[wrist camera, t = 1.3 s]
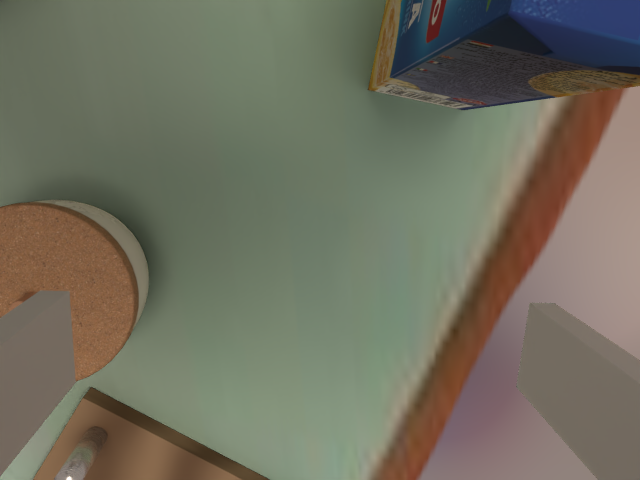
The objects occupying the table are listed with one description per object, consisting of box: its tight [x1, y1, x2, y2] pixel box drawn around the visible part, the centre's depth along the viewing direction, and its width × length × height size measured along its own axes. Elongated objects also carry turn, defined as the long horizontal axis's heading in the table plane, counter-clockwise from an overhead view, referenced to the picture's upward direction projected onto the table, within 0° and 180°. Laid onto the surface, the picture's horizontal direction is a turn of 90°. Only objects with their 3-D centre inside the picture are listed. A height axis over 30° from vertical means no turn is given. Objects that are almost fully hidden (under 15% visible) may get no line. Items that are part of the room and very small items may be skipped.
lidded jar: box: [0, 200, 149, 381], centre depth 30 cm, size 11×11×9 cm
